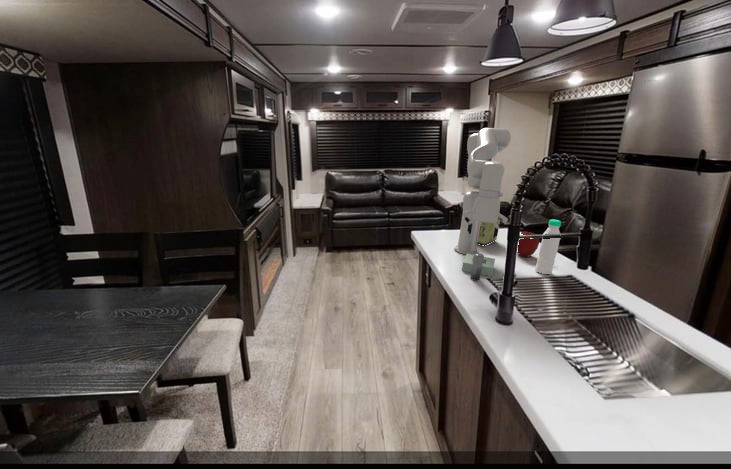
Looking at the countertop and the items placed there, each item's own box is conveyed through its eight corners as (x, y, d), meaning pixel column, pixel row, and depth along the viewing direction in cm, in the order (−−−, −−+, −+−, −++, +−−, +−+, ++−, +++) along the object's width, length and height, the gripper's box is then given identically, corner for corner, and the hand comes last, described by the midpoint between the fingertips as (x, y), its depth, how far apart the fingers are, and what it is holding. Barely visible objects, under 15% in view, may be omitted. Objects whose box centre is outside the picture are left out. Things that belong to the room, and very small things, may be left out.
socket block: (465, 261, 164) (466, 253, 163) (493, 266, 160) (495, 258, 159) (461, 270, 153) (462, 262, 152) (491, 276, 148) (493, 268, 147)
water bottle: (542, 268, 161) (554, 217, 154) (555, 274, 155) (568, 222, 148) (531, 269, 159) (543, 218, 151) (543, 276, 152) (556, 222, 145)
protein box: (467, 241, 194) (471, 215, 189) (479, 237, 205) (484, 212, 200) (484, 246, 187) (489, 219, 182) (496, 241, 198) (501, 215, 193)
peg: (470, 276, 147) (474, 252, 144) (480, 278, 146) (484, 254, 143) (469, 279, 144) (473, 255, 141) (479, 281, 142) (483, 257, 139)
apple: (508, 250, 184) (513, 227, 180) (530, 252, 183) (536, 229, 179) (515, 258, 172) (521, 233, 168) (539, 260, 171) (545, 235, 167)
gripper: (512, 195, 134) (504, 237, 139) (467, 190, 141) (461, 230, 146) (512, 198, 128) (503, 241, 133) (465, 192, 134) (459, 234, 139)
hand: (481, 235), depth 139 cm, fingers open, 9 cm apart
